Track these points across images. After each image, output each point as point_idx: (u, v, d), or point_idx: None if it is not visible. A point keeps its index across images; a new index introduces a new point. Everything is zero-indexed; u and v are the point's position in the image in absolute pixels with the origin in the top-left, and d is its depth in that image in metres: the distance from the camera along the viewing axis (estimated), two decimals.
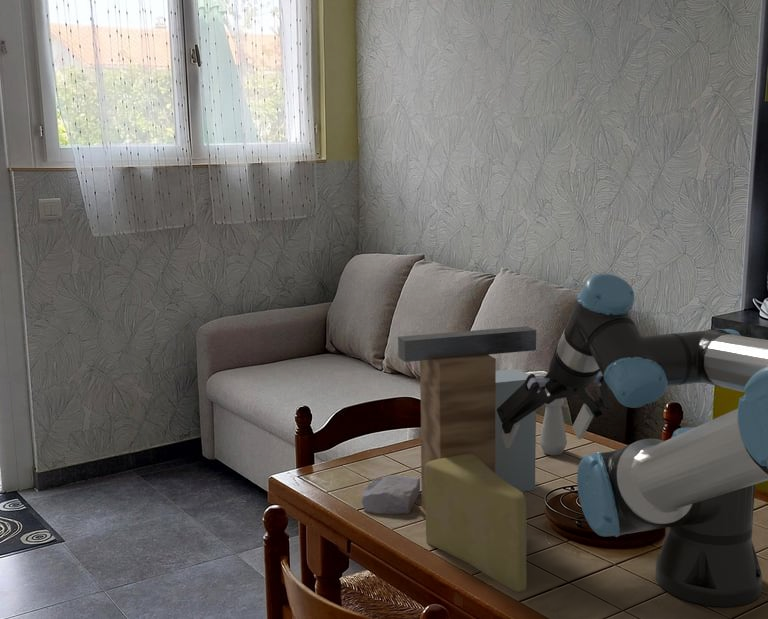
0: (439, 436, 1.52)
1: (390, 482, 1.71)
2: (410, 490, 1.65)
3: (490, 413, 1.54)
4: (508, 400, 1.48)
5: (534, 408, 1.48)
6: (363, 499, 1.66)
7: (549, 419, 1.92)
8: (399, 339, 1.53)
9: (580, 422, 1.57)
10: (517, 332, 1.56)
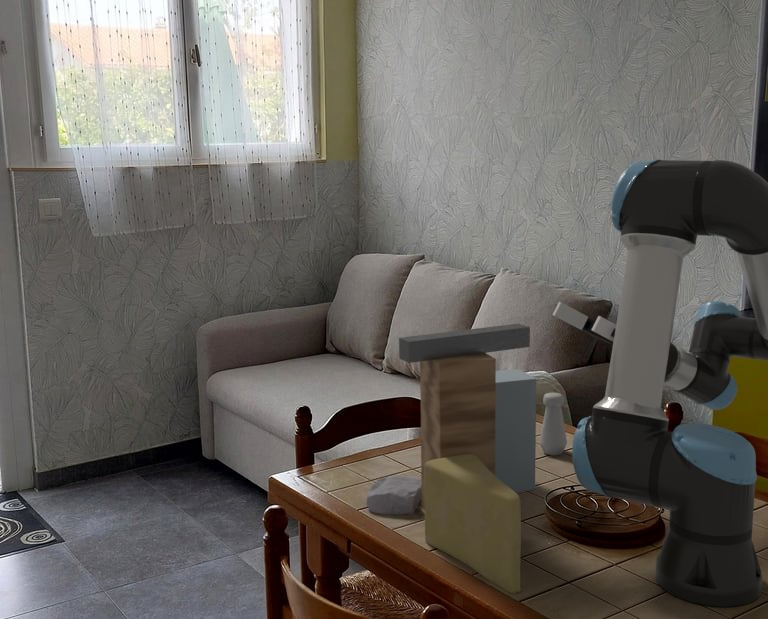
0: (439, 436, 1.52)
1: (395, 483, 1.70)
2: (415, 490, 1.65)
3: (490, 413, 1.54)
4: None
5: None
6: (367, 499, 1.66)
7: (549, 419, 1.92)
8: (401, 340, 1.52)
9: None
10: (512, 329, 1.59)
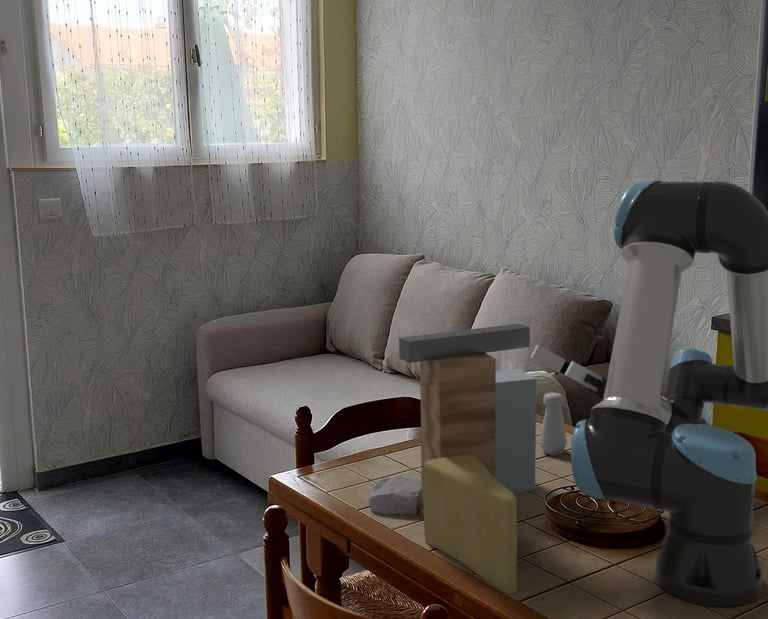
0: (439, 436, 1.52)
1: (397, 483, 1.70)
2: (417, 491, 1.65)
3: (490, 413, 1.54)
4: None
5: None
6: (370, 500, 1.65)
7: (549, 419, 1.92)
8: (401, 340, 1.52)
9: None
10: (512, 329, 1.59)
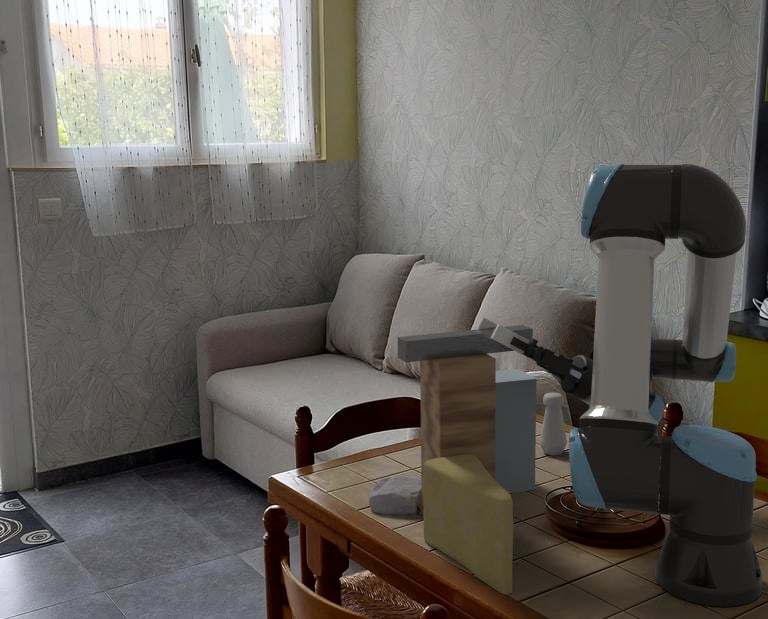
0: (439, 436, 1.52)
1: (397, 483, 1.70)
2: (417, 490, 1.65)
3: (490, 413, 1.54)
4: None
5: None
6: (370, 499, 1.65)
7: (549, 419, 1.92)
8: (399, 339, 1.53)
9: None
10: (514, 331, 1.57)
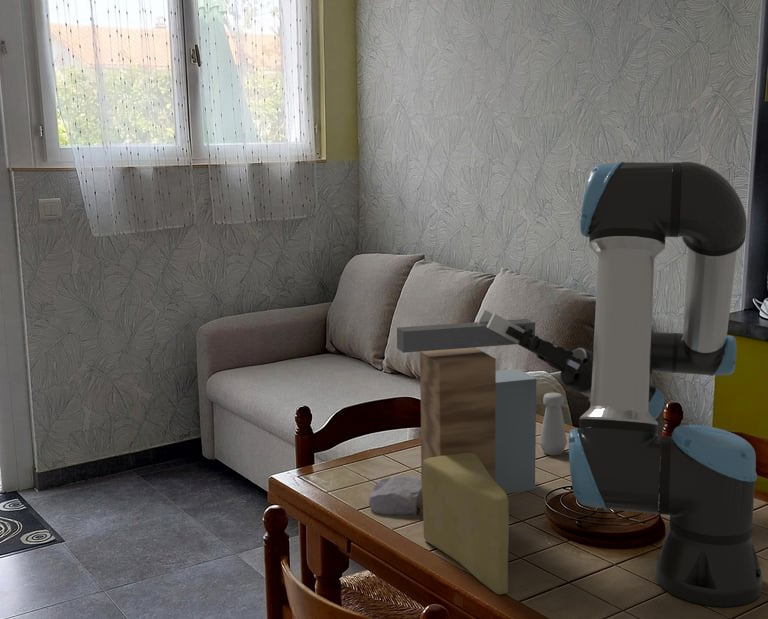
0: (439, 436, 1.52)
1: (397, 483, 1.70)
2: (417, 491, 1.65)
3: (490, 413, 1.54)
4: None
5: None
6: (370, 500, 1.65)
7: (549, 419, 1.92)
8: (398, 330, 1.53)
9: None
10: (516, 324, 1.56)
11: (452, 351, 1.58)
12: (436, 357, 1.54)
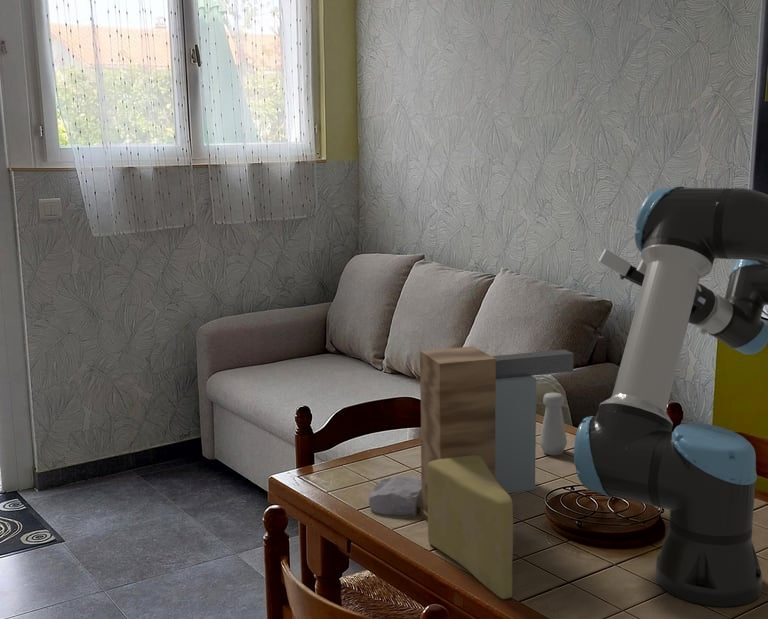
0: (439, 436, 1.52)
1: (398, 483, 1.70)
2: (417, 491, 1.65)
3: (490, 413, 1.54)
4: (634, 281, 1.83)
5: None
6: (370, 500, 1.65)
7: (549, 419, 1.92)
8: None
9: None
10: (556, 355, 1.73)
11: (452, 351, 1.58)
12: (436, 357, 1.54)
